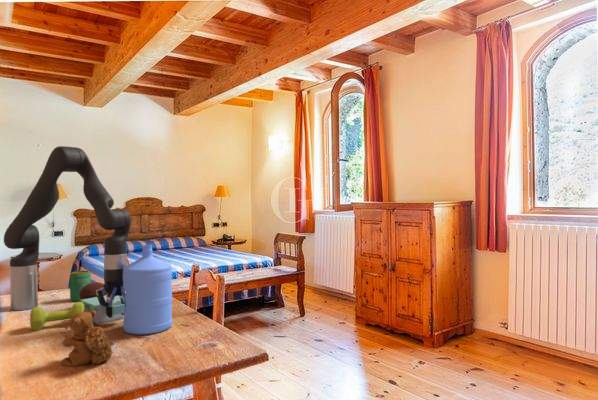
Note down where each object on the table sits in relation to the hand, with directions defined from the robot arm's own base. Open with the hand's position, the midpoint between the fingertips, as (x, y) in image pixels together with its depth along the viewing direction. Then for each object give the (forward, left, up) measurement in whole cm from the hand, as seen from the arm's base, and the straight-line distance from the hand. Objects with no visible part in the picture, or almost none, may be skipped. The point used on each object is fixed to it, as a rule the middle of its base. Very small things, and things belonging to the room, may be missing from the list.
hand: (116, 315), depth 145 cm
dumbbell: (-14, -14, -3) cm, 20 cm away
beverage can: (-46, +6, -3) cm, 47 cm away
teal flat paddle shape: (-7, 0, +1) cm, 7 cm away
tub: (-10, 0, -3) cm, 11 cm away
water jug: (+13, +5, -3) cm, 14 cm away
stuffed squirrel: (+27, -20, -3) cm, 34 cm away
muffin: (-27, +4, -3) cm, 28 cm away
